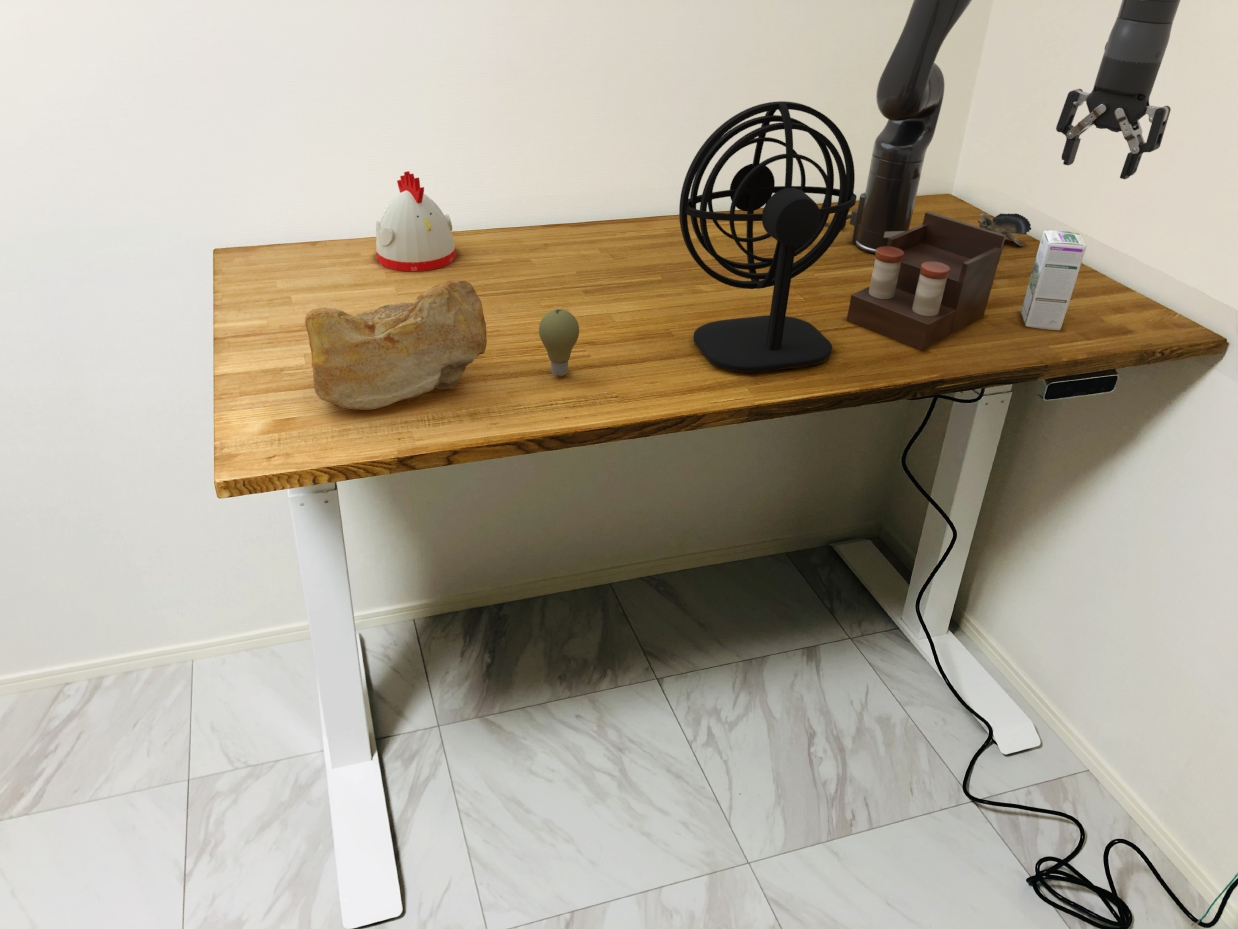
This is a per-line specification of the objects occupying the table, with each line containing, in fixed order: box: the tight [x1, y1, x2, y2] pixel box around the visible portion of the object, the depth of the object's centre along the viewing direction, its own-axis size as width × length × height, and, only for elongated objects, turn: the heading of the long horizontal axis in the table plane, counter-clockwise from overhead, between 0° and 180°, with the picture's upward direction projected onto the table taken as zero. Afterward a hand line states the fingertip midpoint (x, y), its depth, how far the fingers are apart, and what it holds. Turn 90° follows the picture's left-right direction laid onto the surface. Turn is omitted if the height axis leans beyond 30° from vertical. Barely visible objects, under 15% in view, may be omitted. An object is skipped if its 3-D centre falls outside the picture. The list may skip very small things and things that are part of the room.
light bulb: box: [538, 308, 580, 378], centre depth 130 cm, size 6×6×10 cm
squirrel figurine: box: [977, 213, 1032, 247], centre depth 180 cm, size 8×7×9 cm
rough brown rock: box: [304, 279, 488, 411], centre depth 126 cm, size 23×17×15 cm
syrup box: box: [1020, 230, 1087, 331], centre depth 149 cm, size 6×6×14 cm
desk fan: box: [678, 100, 857, 373], centre depth 132 cm, size 27×18×35 cm, turn 107°
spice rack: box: [846, 211, 1007, 351], centre depth 148 cm, size 19×14×14 cm
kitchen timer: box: [375, 170, 457, 272], centre depth 163 cm, size 14×14×15 cm
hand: (1095, 170), depth 139 cm, fingers open, 8 cm apart
